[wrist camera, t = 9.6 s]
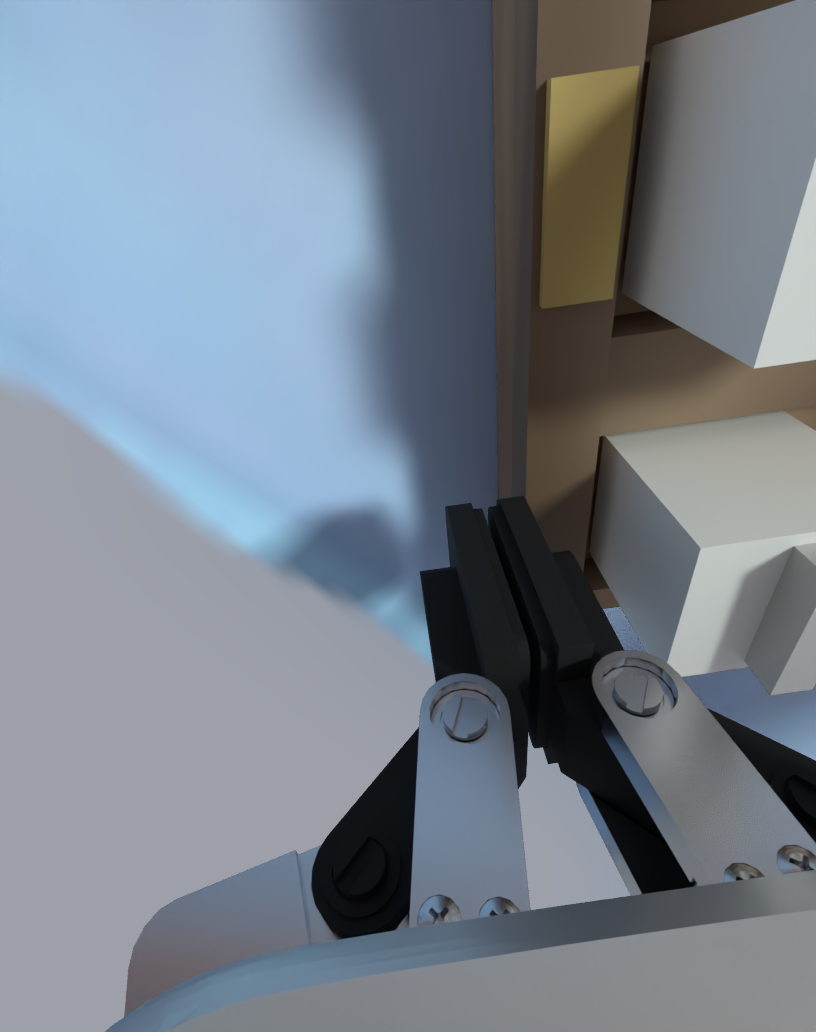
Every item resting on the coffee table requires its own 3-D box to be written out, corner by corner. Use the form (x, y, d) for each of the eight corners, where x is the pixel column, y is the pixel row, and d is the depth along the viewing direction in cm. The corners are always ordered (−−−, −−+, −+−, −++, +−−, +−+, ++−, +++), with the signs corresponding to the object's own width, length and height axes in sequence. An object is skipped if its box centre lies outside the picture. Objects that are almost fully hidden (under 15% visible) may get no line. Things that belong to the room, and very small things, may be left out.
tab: (780, 408, 12) (995, 544, 8) (738, 530, 14) (891, 685, 10) (603, 434, 12) (730, 582, 8) (589, 552, 14) (682, 715, 10)
